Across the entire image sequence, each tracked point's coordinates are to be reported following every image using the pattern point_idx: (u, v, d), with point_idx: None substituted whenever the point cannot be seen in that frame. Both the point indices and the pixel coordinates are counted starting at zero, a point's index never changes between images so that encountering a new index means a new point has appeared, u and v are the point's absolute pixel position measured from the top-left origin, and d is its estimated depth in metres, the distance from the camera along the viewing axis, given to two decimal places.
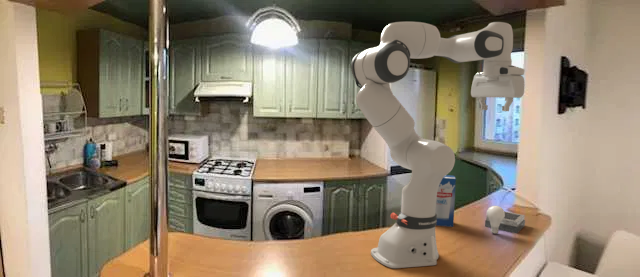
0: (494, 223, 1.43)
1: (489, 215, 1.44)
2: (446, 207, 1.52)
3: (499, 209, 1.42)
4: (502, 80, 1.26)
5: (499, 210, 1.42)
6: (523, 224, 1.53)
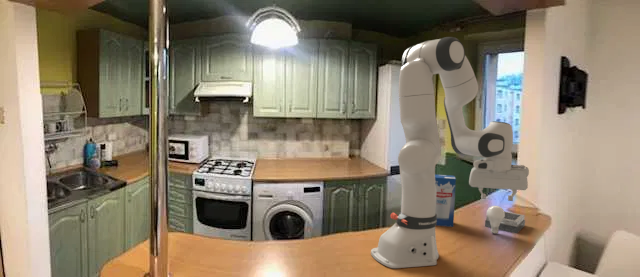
0: (494, 223, 1.43)
1: (489, 215, 1.44)
2: (446, 207, 1.52)
3: (499, 209, 1.42)
4: None
5: (499, 210, 1.42)
6: (523, 224, 1.53)
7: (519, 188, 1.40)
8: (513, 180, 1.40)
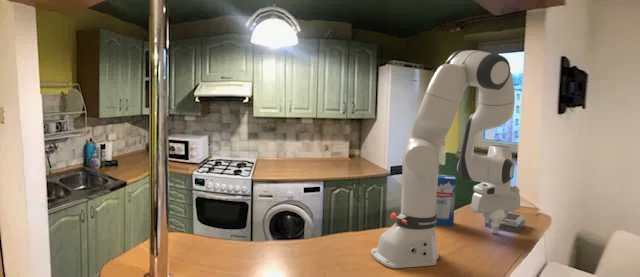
0: (494, 223, 1.43)
1: (489, 215, 1.44)
2: (446, 207, 1.52)
3: (499, 209, 1.42)
4: None
5: (499, 210, 1.42)
6: (523, 224, 1.53)
7: (514, 208, 1.45)
8: (510, 201, 1.44)
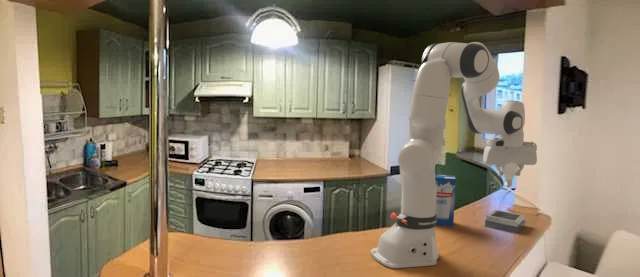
0: (506, 176, 1.50)
1: (501, 168, 1.51)
2: (446, 207, 1.52)
3: (511, 162, 1.49)
4: None
5: (511, 163, 1.49)
6: (523, 224, 1.53)
7: (530, 163, 1.49)
8: (524, 155, 1.49)
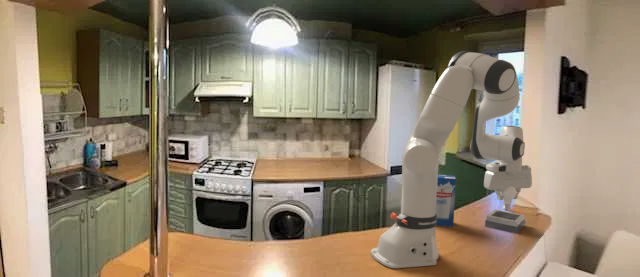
0: (506, 200, 1.51)
1: (501, 192, 1.51)
2: (446, 207, 1.52)
3: (511, 187, 1.50)
4: None
5: (511, 187, 1.50)
6: (523, 224, 1.53)
7: (526, 186, 1.52)
8: (522, 179, 1.51)
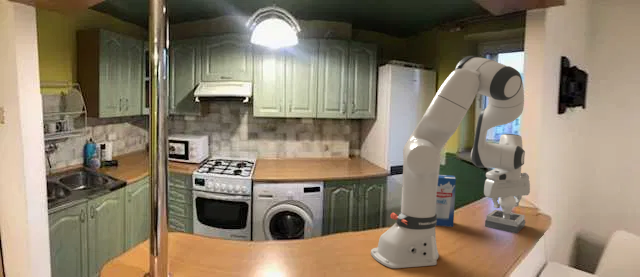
0: (506, 210, 1.52)
1: (501, 203, 1.52)
2: (446, 207, 1.52)
3: (511, 197, 1.51)
4: None
5: (511, 198, 1.50)
6: (523, 224, 1.53)
7: (524, 194, 1.53)
8: (521, 187, 1.52)
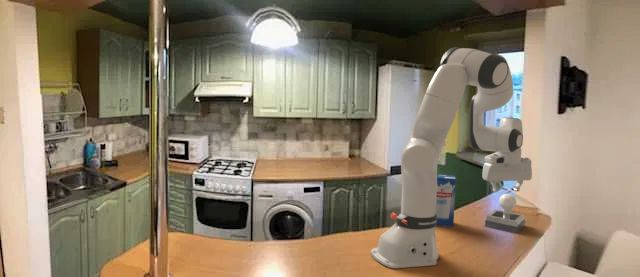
0: (506, 210, 1.52)
1: (501, 202, 1.52)
2: (446, 207, 1.52)
3: (511, 197, 1.51)
4: None
5: (511, 198, 1.51)
6: (523, 224, 1.53)
7: (526, 179, 1.52)
8: (521, 171, 1.51)
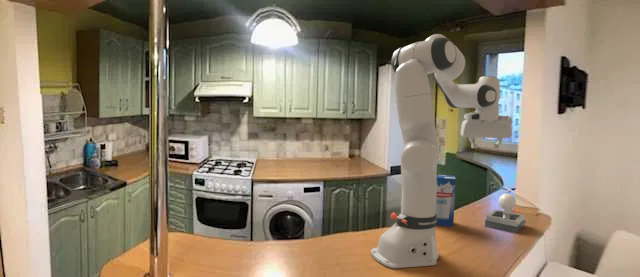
0: (506, 210, 1.52)
1: (501, 202, 1.52)
2: (446, 207, 1.52)
3: (510, 196, 1.51)
4: None
5: (510, 197, 1.51)
6: (523, 224, 1.53)
7: (505, 136, 1.56)
8: (500, 129, 1.56)
